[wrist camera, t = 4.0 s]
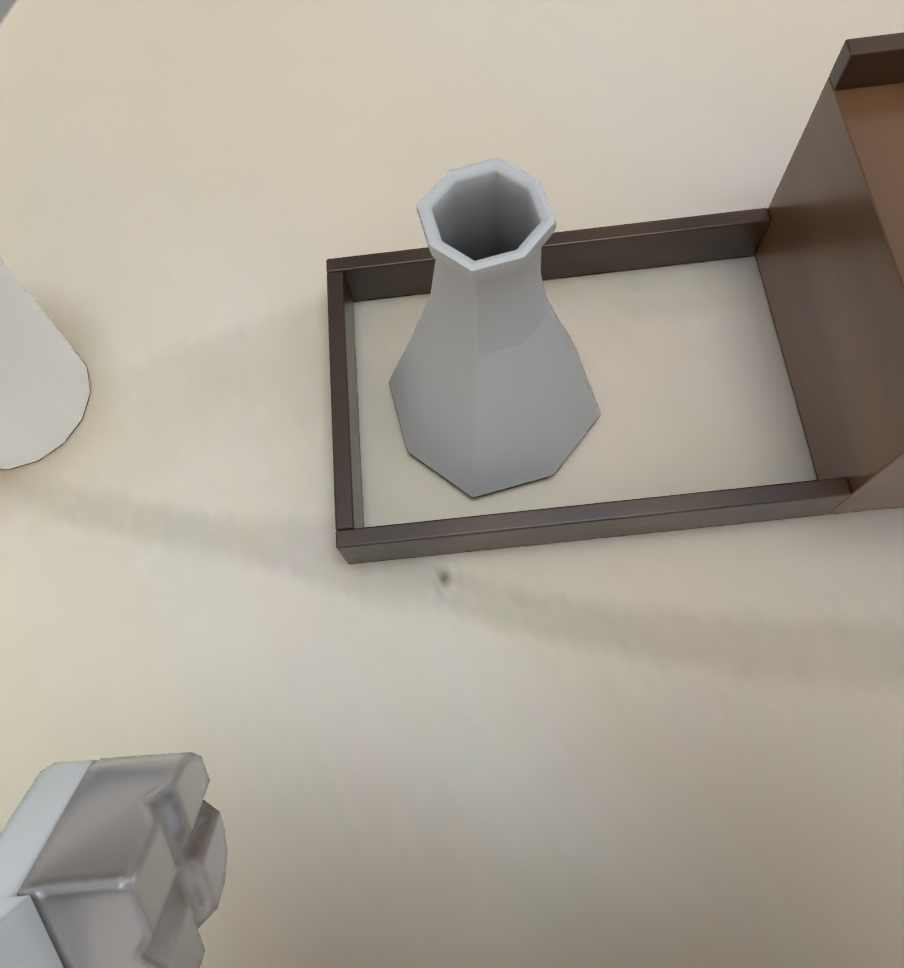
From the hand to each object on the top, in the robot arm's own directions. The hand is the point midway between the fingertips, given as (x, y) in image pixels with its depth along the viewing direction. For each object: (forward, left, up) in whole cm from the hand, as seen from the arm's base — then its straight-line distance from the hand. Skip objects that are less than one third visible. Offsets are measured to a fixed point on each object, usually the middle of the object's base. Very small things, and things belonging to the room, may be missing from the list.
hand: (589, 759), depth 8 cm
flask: (-8, -10, -16) cm, 21 cm away
